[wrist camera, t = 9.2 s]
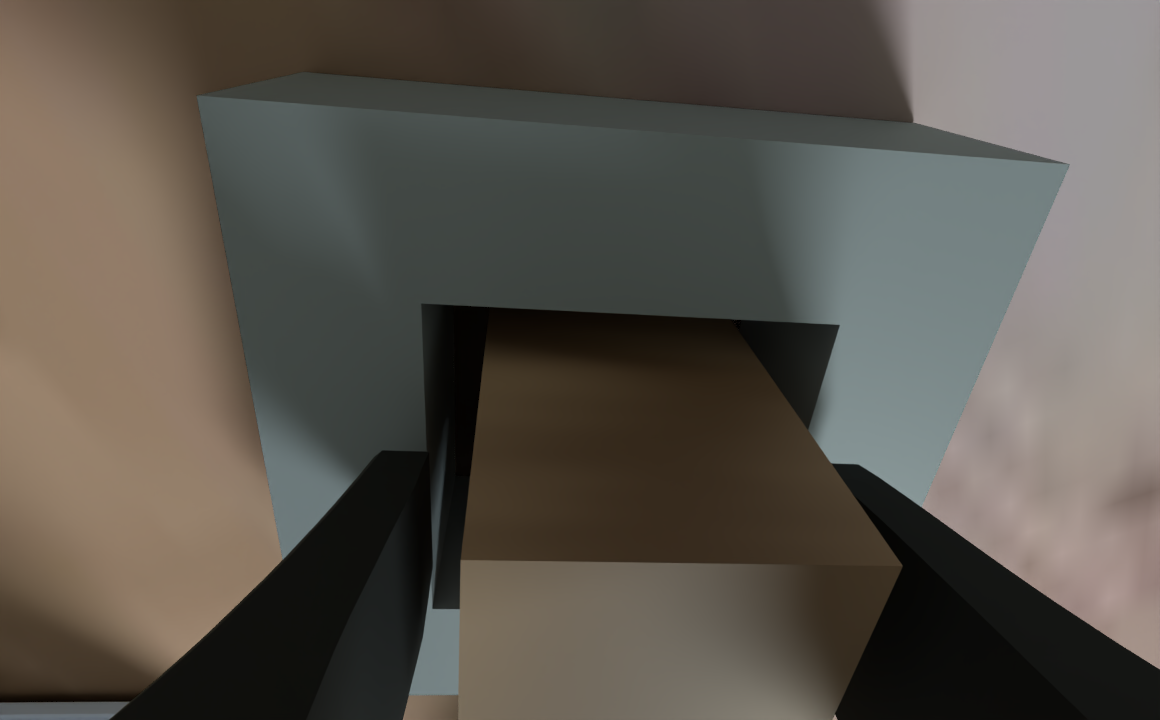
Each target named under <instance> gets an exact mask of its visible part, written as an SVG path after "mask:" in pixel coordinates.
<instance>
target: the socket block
mask: <svg viewBox="0 0 1160 720" xmlns="http://www.w3.org/2000/svg"><path fill="white" fill-rule="evenodd" d="M197 101H198V106H199V112H200V117H201V123H202V128H203V133H204V139H205V144H206V149H207V155H208V160H209V166H210V171H211V176H212V182H213V187H214V193H215V198H216V203H217V209H218V214H219V219H220V225H221V230H222V236H223V241H224V246H225V252H226V257H227V263H228V268H229V273H230V279H231V284H232V290H233V295H234V300H235V306H236V311H237V316H238V322H239V327H240V333H241V338H242V343H243V349H244V354H245V360H246V365H247V370H248V376H249V381H250V386H251V392H252V397H253V403H254V408H255V413H256V419H257V424H258V430H259V435H260V440H261V446H262V451H263V456H264V462H265V467H266V473H267V478H268V483H269V489H270V494H271V500H272V505H273V510H274V516H275V521H276V527H277V532H278V537H279V543H280V548H281V553H282V559H284V558H285V557H286V556H287V555H288V554H289V553H290V552H291V550H292V549H293V548H294V547H295V546H296V545H297V544H298V543H299V542H300V541H301V540H302V539H303V538H304V537H305V536H306V534H307V533H308V532H309V531H310V530H311V529H312V528H313V527H314V526H315V525H316V524H317V523H318V522H319V521H320V519H321V518H322V517H323V516H324V515H325V514H326V513H327V512H328V510H329V509H330V508H331V507H332V506H333V505H334V504H335V502H336V501H337V500H338V499H339V498H340V497H341V496H342V494H343V493H344V492H345V491H346V490H347V489H348V487H349V486H350V485H351V484H352V483H353V482H354V480H355V479H356V478H357V477H358V476H359V474H360V473H361V472H362V471H363V470H364V468H365V467H366V466H367V465H368V464H369V462H370V461H371V460H372V459H373V458H374V457H375V456H376V455H377V454H378V453H380V452H381V451H382V450H390V451H424V452H429V464H430V492H431V521H432V550H433V569H432V576H431V584H430V591H429V599H428V606H427V613H426V620H425V626H424V633H423V639H422V643H421V647H420V652H419V656H418V660H417V664H416V668H415V672H414V676H413V680H412V684H411V688H410V692H409V695H458V684H459V625H460V567H461V552H462V544H463V535H464V526H465V518H466V509H467V500H468V492H469V483H470V476H456V474H455V384H454V305H462V306H481V307H501V308H520V309H540V310H560V311H579V312H599V313H619V314H638V315H658V316H677V317H697V318H717V319H736V320H741V325H740V329H739V332H740V333H741V335H742V336H743V338H744V339H745V341H746V342H747V344H748V345H749V346H750V348H751V349H752V351H753V352H754V354H755V355H756V356H757V358H758V359H759V361H760V362H761V364H762V365H763V366H764V368H765V369H766V371H767V372H768V374H769V375H770V376H771V378H772V379H773V381H774V382H775V384H776V385H777V387H778V388H779V389H780V391H781V392H782V394H783V395H784V397H785V398H786V399H787V401H788V402H789V404H790V405H791V407H792V408H793V409H794V411H795V412H796V414H797V415H798V417H799V418H800V419H801V421H802V422H803V424H804V425H805V427H806V428H807V429H808V431H809V432H810V434H811V435H812V437H813V438H814V440H815V441H816V442H817V444H818V445H819V447H820V448H821V450H822V451H823V452H824V454H825V455H826V457H827V458H828V460H829V461H830V462H831V463H836V464H859V465H860V466H862V467H863V468H865V469H867V470H868V471H870V472H871V473H873V474H875V475H876V476H878V477H879V478H881V479H882V480H884V481H885V482H886V483H888V484H889V485H891V486H892V487H894V488H895V489H896V490H898V491H899V492H901V493H902V494H904V495H905V496H906V497H908V498H909V499H911V500H912V501H913V502H915V503H916V504H918V505H919V506H920V507H922V505H923V502H924V500H925V498H926V495H927V493H928V491H929V488H930V486H931V484H932V481H933V479H934V477H935V475H936V472H937V470H938V468H939V465H940V463H941V461H942V458H943V456H944V454H945V451H946V449H947V447H948V445H949V442H950V440H951V438H952V435H953V433H954V431H955V428H956V426H957V424H958V421H959V419H960V417H961V415H962V412H963V410H964V408H965V405H966V403H967V401H968V398H969V396H970V394H971V391H972V389H973V387H974V384H975V382H976V380H977V378H978V375H979V373H980V371H981V368H982V366H983V364H984V361H985V359H986V357H987V354H988V352H989V350H990V348H991V345H992V343H993V341H994V338H995V336H996V334H997V331H998V329H999V327H1000V324H1001V322H1002V320H1003V318H1004V315H1005V313H1006V311H1007V308H1008V306H1009V304H1010V301H1011V299H1012V297H1013V294H1014V292H1015V290H1016V288H1017V285H1018V283H1019V281H1020V278H1021V276H1022V274H1023V271H1024V269H1025V267H1026V264H1027V262H1028V260H1029V258H1030V255H1031V253H1032V251H1033V248H1034V246H1035V244H1036V241H1037V239H1038V237H1039V234H1040V232H1041V230H1042V228H1043V225H1044V223H1045V221H1046V218H1047V216H1048V214H1049V211H1050V209H1051V207H1052V204H1053V202H1054V200H1055V197H1056V195H1057V193H1058V191H1059V188H1060V186H1061V184H1062V181H1063V179H1064V177H1065V174H1066V172H1067V170H1068V167H1069V165H1070V164H1066V163H1062V162H1058V161H1055V160H1051V159H1047V158H1044V157H1040V156H1036V155H1032V154H1029V153H1025V152H1021V151H1017V150H1014V149H1010V148H1006V147H1003V146H999V145H995V144H991V143H988V142H984V141H980V140H977V139H973V138H969V137H965V136H962V135H958V134H954V133H950V132H947V131H943V130H939V129H936V128H932V127H928V126H924V125H921V124H917V123H907V122H896V121H884V120H872V119H860V118H848V117H836V116H824V115H812V114H800V113H788V112H776V111H764V110H752V109H740V108H728V107H716V106H704V105H692V104H680V103H668V102H656V101H644V100H632V99H620V98H608V97H597V96H585V95H573V94H561V93H549V92H537V91H525V90H513V89H501V88H489V87H477V86H465V85H453V84H441V83H429V82H417V81H405V80H393V79H381V78H369V77H357V76H345V75H333V74H321V73H309V72H301V73H296V74H292V75H287V76H283V77H278V78H274V79H269V80H265V81H260V82H256V83H251V84H247V85H242V86H238V87H233V88H228V89H224V90H219V91H215V92H210V93H206V94H201V95H197Z"/></svg>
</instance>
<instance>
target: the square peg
mask: <svg viewBox="0 0 1160 720" xmlns="http://www.w3.org/2000/svg"><path fill="white" fill-rule="evenodd" d="M902 567H903V566H902V564H901V563H900V561H899V560H898V558H897V557H896V556H895V554H894V553H893V551H892V550H891V548H890V547H889V546H888V544H887V543H886V541H885V540H884V538H883V537H882V536H881V534H880V533H879V531H878V530H877V528H876V527H875V525H874V524H873V523H872V521H871V520H870V518H869V517H868V515H867V514H866V513H865V511H864V510H863V508H862V507H861V505H860V504H859V503H858V501H857V500H856V498H855V497H854V495H853V494H852V493H851V491H850V490H849V488H848V487H847V485H846V484H845V483H844V481H843V480H842V478H841V477H840V475H839V474H838V472H837V471H836V470H835V468H834V467H833V465H832V464H831V462H830V461H829V460H828V458H827V457H826V455H825V454H824V452H823V451H822V450H821V448H820V447H819V445H818V444H817V442H816V441H815V440H814V438H813V437H812V435H811V434H810V432H809V431H808V429H807V428H806V427H805V425H804V424H803V422H802V421H801V419H800V418H799V417H798V415H797V414H796V412H795V411H794V409H793V408H792V407H791V405H790V404H789V402H788V401H787V399H786V398H785V397H784V395H783V394H782V392H781V391H780V389H779V388H778V387H777V385H776V384H775V382H774V381H773V379H772V378H771V376H770V375H769V374H768V372H767V371H766V369H765V368H764V366H763V365H762V364H761V362H760V361H759V359H758V358H757V356H756V355H755V354H754V352H753V351H752V349H751V348H750V346H749V345H748V344H747V342H746V341H745V339H744V338H743V336H742V335H741V333H740V332H739V331H738V329H737V328H736V326H735V325H734V323H733V322H732V321H731V319H717V318H697V317H677V316H658V315H638V314H619V313H599V312H579V311H560V310H540V309H520V308H501V307H490V309H489V318H488V326H487V335H486V344H485V352H484V361H483V370H482V379H481V387H480V396H479V405H478V413H477V422H476V431H475V439H474V448H473V457H472V465H471V474H470V483H469V492H468V500H467V509H466V518H465V526H464V535H463V544H462V552H461V567H460V625H459V684H458V720H832V719H833V717H834V715H835V713H836V710H837V708H838V706H839V704H840V702H841V700H842V697H843V695H844V693H845V691H846V689H847V686H848V684H849V682H850V680H851V678H852V676H853V673H854V671H855V669H856V667H857V665H858V663H859V660H860V658H861V656H862V654H863V652H864V650H865V647H866V645H867V643H868V641H869V639H870V636H871V634H872V632H873V630H874V628H875V626H876V623H877V621H878V619H879V617H880V615H881V613H882V610H883V608H884V606H885V604H886V602H887V600H888V597H889V595H890V593H891V591H892V589H893V586H894V584H895V582H896V580H897V578H898V576H899V573H900V571H901V569H902Z"/></svg>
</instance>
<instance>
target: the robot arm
mask: <svg viewBox="0 0 1160 720" xmlns="http://www.w3.org/2000/svg"><path fill="white" fill-rule="evenodd" d="M831 464H832V465H833V467H834V468H835V470H836V471H837V472H838V474H839V475H840V477H841V478H842V480H843V481H844V483H845V484H846V485H847V487H848V488H849V490H850V491H851V493H852V494H853V495H854V497H855V498H856V500H857V501H858V503H859V504H860V505H861V507H862V508H863V510H864V511H865V513H866V514H867V515H868V517H869V518H870V520H871V521H872V523H873V524H874V525H875V527H876V528H877V530H878V531H879V533H880V534H881V536H882V537H883V538H884V540H885V541H886V543H887V544H888V546H889V547H890V548H891V550H892V551H893V553H894V554H895V556H896V557H897V558H898V560H899V561H900V563H901V564H902V566H903V567H902V569H901V571H900V573H899V576H898V578H897V580H896V582H895V584H894V586H893V589H892V591H891V593H890V595H889V597H888V600H887V602H886V604H885V606H884V608H883V610H882V613H881V615H880V617H879V619H878V621H877V623H876V626H875V628H874V630H873V632H872V634H871V636H870V639H869V641H868V643H867V645H866V647H865V650H864V652H863V654H862V656H861V658H860V660H859V663H858V665H857V667H856V669H855V671H854V673H853V676H852V678H851V680H850V682H849V684H848V686H847V689H846V691H845V693H844V695H843V697H842V700H841V702H840V704H839V706H838V708H837V710H836V713H835V715H836V717H837V719H838V720H1160V669H1158V668H1156V667H1155V666H1153V665H1152V664H1150V663H1148V662H1147V661H1145V660H1144V659H1142V658H1140V657H1139V656H1137V655H1136V654H1134V653H1132V652H1131V651H1129V650H1127V649H1126V648H1124V647H1123V646H1121V645H1120V644H1118V643H1116V642H1115V641H1113V640H1112V639H1110V638H1109V637H1107V636H1106V635H1104V634H1103V633H1101V632H1100V631H1098V630H1097V629H1095V628H1094V627H1092V626H1091V625H1089V624H1088V623H1086V622H1085V621H1083V620H1081V619H1080V618H1078V617H1077V616H1075V615H1074V614H1072V613H1071V612H1069V611H1068V610H1066V609H1065V608H1063V607H1062V606H1060V605H1059V604H1057V603H1056V602H1054V601H1053V600H1051V599H1050V598H1048V597H1047V596H1045V595H1044V594H1043V593H1041V592H1040V591H1038V590H1037V589H1035V588H1034V587H1032V586H1031V585H1029V584H1028V583H1026V582H1025V581H1024V580H1022V579H1021V578H1019V577H1018V576H1016V575H1015V574H1014V573H1012V572H1011V571H1009V570H1008V569H1006V568H1005V567H1004V566H1002V565H1001V564H999V563H998V562H997V561H995V560H994V559H992V558H991V557H990V556H988V555H987V554H985V553H984V552H983V551H981V550H980V549H978V548H977V547H976V546H974V545H973V544H971V543H970V542H969V541H967V540H966V539H964V538H963V537H962V536H960V535H959V534H958V533H956V532H955V531H953V530H952V529H951V528H949V527H948V526H946V525H945V524H944V523H942V522H941V521H940V520H938V519H937V518H935V517H934V516H933V515H931V514H930V513H929V512H927V511H926V510H924V509H923V508H922V507H920V506H919V505H918V504H916V503H915V502H913V501H912V500H911V499H909V498H908V497H906V496H905V495H904V494H902V493H901V492H899V491H898V490H896V489H895V488H894V487H892V486H891V485H889V484H888V483H886V482H885V481H884V480H882V479H881V478H879V477H878V476H876V475H875V474H873V473H871V472H870V471H868V470H867V469H865V468H863V467H862V466H860V465H859V464H836V463H831ZM432 569H433V550H432V521H431V492H430V464H429V452H424V451H390V450H382V451H381V452H380V453H378V454H377V455H376V456H375V457H374V458H373V459H372V460H371V461H370V462H369V464H368V465H367V466H366V467H365V468H364V470H363V471H362V472H361V473H360V474H359V476H358V477H357V478H356V479H355V480H354V482H353V483H352V484H351V485H350V486H349V487H348V489H347V490H346V491H345V492H344V493H343V494H342V496H341V497H340V498H339V499H338V500H337V501H336V502H335V504H334V505H333V506H332V507H331V508H330V509H329V510H328V512H327V513H326V514H325V515H324V516H323V517H322V518H321V519H320V521H319V522H318V523H317V524H316V525H315V526H314V527H313V528H312V529H311V530H310V531H309V532H308V533H307V534H306V536H305V537H304V538H303V539H302V540H301V541H300V542H299V543H298V544H297V545H296V546H295V547H294V548H293V549H292V550H291V552H290V553H289V554H288V555H287V556H286V557H285V558H284V559H283V560H282V561H281V562H280V563H279V564H278V565H277V566H276V567H275V568H274V569H273V571H272V572H271V573H270V574H269V575H268V576H267V577H266V578H265V579H264V580H263V581H262V582H261V583H259V584H258V585H257V586H256V587H255V588H254V589H253V590H252V591H251V592H250V593H249V594H248V595H247V596H246V597H245V598H244V599H243V600H242V601H241V602H240V603H239V604H238V605H237V606H236V607H235V608H234V609H233V610H232V611H231V612H230V613H228V614H227V615H226V616H225V617H224V618H223V619H222V620H221V621H220V622H219V623H218V624H217V625H216V626H215V627H214V628H213V629H212V630H211V631H210V632H209V633H208V634H207V635H206V636H204V637H203V638H202V639H201V640H200V641H199V642H198V643H197V644H196V645H195V646H193V647H192V648H191V649H190V650H189V651H188V652H187V653H186V654H185V655H184V656H182V657H181V658H180V659H179V660H178V661H177V662H176V663H175V664H173V665H172V666H171V667H170V668H169V669H168V670H167V671H166V672H164V673H163V674H162V675H161V676H160V677H159V678H158V679H156V680H155V681H154V682H153V683H152V684H151V685H149V686H148V687H147V688H146V689H145V690H143V691H142V692H141V693H140V694H139V695H138V696H136V697H135V698H134V699H133V700H132V701H130V702H0V720H403V716H404V712H405V708H406V704H407V700H408V696H409V692H410V688H411V684H412V680H413V676H414V672H415V668H416V664H417V660H418V656H419V652H420V647H421V643H422V639H423V633H424V626H425V620H426V613H427V606H428V599H429V591H430V584H431V576H432Z"/></svg>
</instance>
